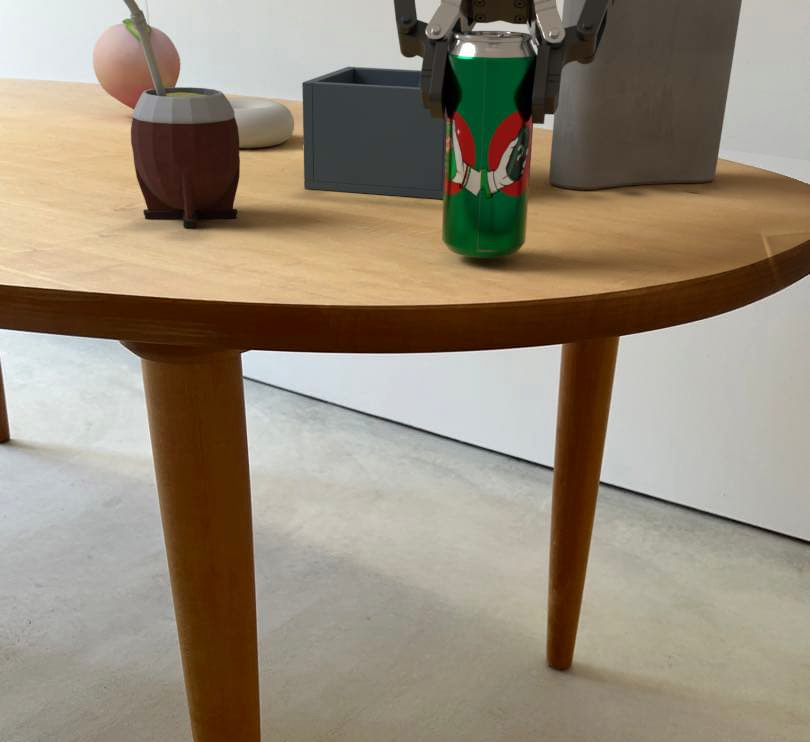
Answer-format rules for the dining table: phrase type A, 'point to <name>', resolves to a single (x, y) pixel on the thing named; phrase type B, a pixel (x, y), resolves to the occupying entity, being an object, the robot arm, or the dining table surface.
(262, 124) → the donut
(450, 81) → the soda can
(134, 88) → the decorative fruit
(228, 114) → the mate gourd
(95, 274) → the dining table surface
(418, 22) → the robot arm
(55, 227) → the dining table surface
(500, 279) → the dining table surface
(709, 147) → the flask
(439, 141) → the bin
